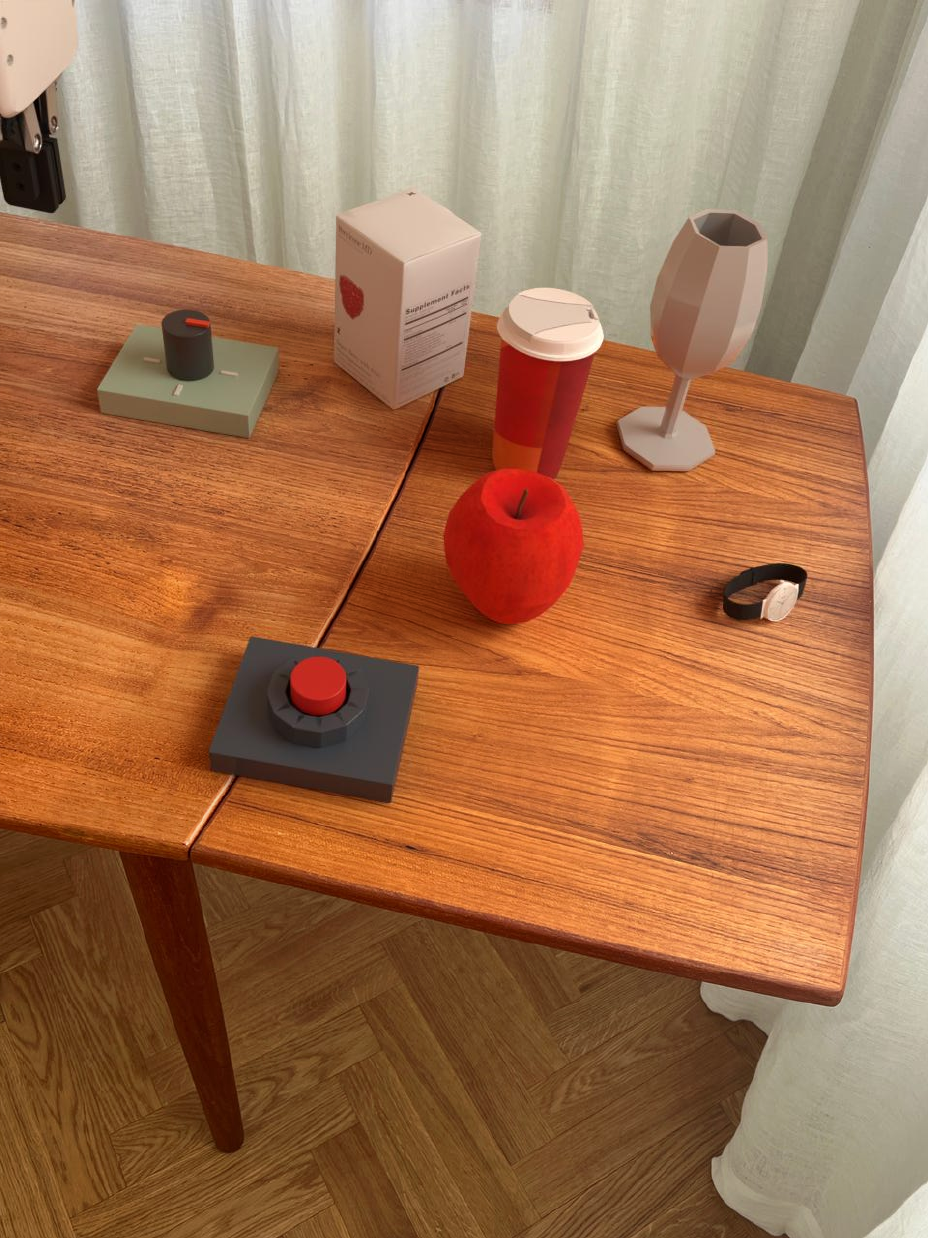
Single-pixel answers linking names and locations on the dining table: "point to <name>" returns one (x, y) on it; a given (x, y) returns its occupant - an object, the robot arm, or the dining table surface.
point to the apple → (513, 544)
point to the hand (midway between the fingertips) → (36, 202)
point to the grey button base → (316, 723)
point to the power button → (318, 686)
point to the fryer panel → (190, 385)
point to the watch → (777, 599)
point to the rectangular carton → (403, 295)
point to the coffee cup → (542, 377)
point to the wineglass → (698, 329)
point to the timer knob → (188, 344)
